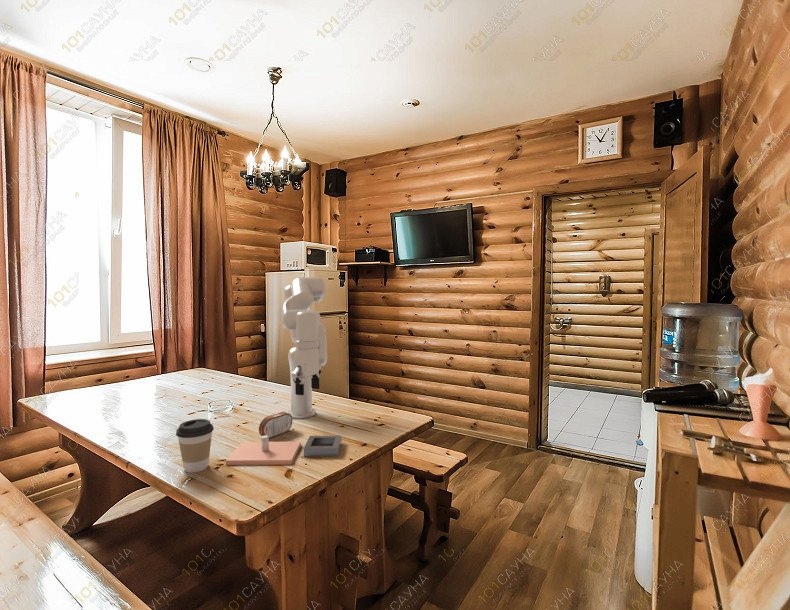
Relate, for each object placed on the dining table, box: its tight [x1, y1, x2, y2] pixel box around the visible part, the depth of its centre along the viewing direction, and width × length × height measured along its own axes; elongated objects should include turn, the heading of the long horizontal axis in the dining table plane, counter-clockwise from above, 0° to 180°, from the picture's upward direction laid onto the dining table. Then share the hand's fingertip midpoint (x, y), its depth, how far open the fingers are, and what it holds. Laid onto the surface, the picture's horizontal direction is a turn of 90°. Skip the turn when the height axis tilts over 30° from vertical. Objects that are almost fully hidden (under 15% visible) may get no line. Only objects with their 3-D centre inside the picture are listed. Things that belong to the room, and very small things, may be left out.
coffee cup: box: [175, 418, 214, 473], centre depth 138 cm, size 11×11×15 cm
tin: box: [258, 411, 293, 439], centre depth 168 cm, size 15×3×8 cm, turn 144°
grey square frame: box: [303, 435, 343, 458], centre depth 154 cm, size 12×12×3 cm
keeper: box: [225, 436, 302, 466], centre depth 149 cm, size 16×22×7 cm
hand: (307, 391), depth 153 cm, fingers open, 9 cm apart
